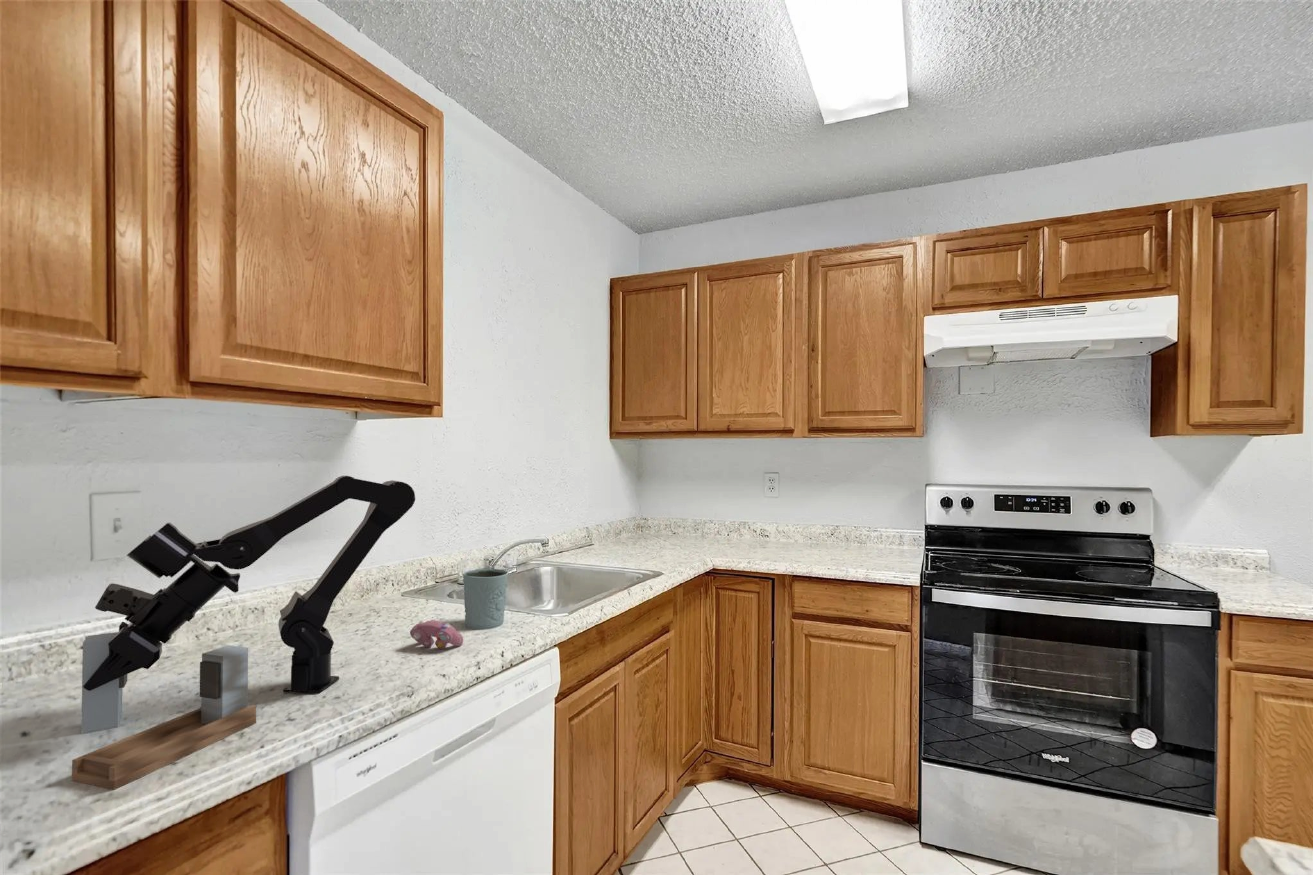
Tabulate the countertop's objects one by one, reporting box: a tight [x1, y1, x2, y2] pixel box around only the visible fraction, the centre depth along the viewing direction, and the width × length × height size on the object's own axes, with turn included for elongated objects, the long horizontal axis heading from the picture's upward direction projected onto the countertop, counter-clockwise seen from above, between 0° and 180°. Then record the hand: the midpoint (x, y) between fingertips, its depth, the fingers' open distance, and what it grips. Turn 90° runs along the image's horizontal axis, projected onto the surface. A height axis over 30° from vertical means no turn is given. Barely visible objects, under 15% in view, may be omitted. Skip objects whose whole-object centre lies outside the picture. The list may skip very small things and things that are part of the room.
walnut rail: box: [71, 645, 257, 791], centre depth 85 cm, size 19×7×11 cm, turn 164°
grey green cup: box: [462, 568, 509, 630], centre depth 146 cm, size 10×10×12 cm
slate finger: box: [80, 631, 128, 734], centre depth 93 cm, size 5×4×13 cm
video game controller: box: [409, 619, 464, 650], centre depth 129 cm, size 10×5×7 cm, turn 77°
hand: (90, 682), depth 92 cm, fingers open, 6 cm apart
